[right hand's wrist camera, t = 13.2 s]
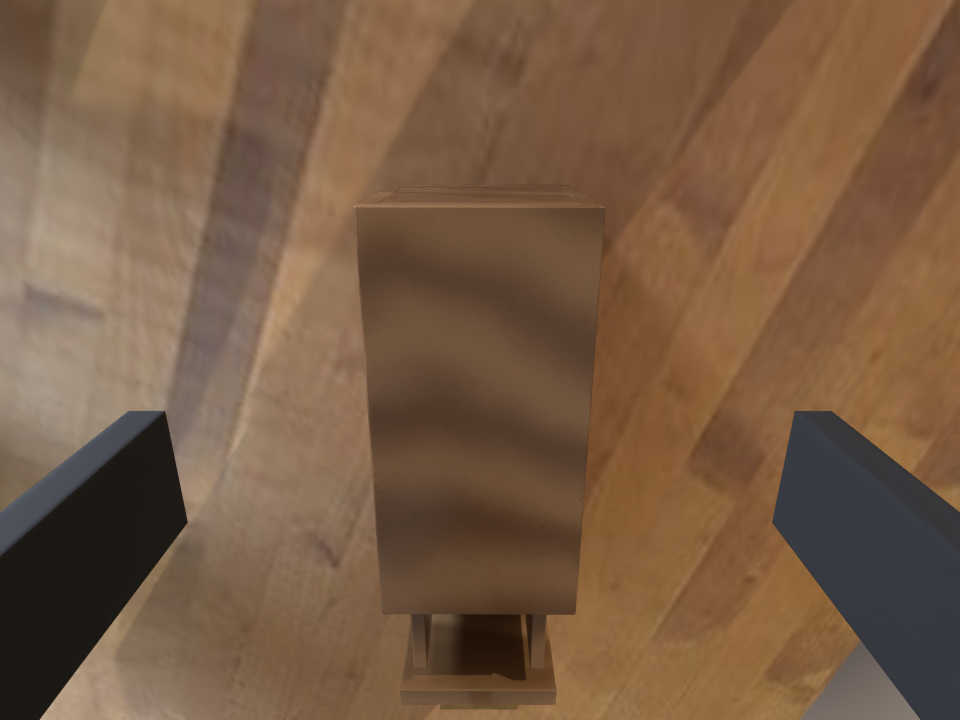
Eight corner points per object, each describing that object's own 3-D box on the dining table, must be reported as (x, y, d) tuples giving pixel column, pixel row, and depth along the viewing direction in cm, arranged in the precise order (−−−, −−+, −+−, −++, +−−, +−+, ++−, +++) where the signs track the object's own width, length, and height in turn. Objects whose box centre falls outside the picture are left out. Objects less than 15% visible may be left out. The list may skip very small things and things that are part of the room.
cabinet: (552, 499, 43) (575, 615, 33) (405, 499, 43) (381, 614, 33) (569, 185, 35) (605, 206, 25) (390, 184, 35) (353, 205, 25)
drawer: (538, 655, 47) (551, 771, 38) (418, 654, 47) (405, 770, 38) (553, 336, 38) (575, 395, 29) (404, 335, 38) (382, 395, 29)
